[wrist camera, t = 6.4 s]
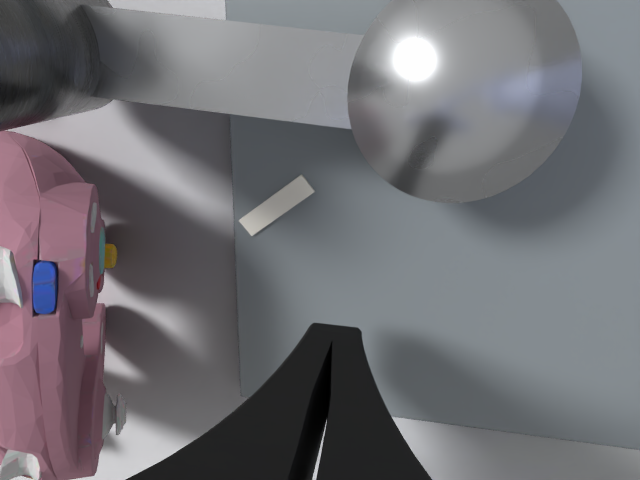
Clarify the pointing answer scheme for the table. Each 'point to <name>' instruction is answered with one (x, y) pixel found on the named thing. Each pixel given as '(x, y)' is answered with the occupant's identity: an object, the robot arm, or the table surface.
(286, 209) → the plate
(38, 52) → the crank
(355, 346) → the robot arm
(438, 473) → the table surface
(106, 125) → the table surface
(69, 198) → the video game controller
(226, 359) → the table surface
